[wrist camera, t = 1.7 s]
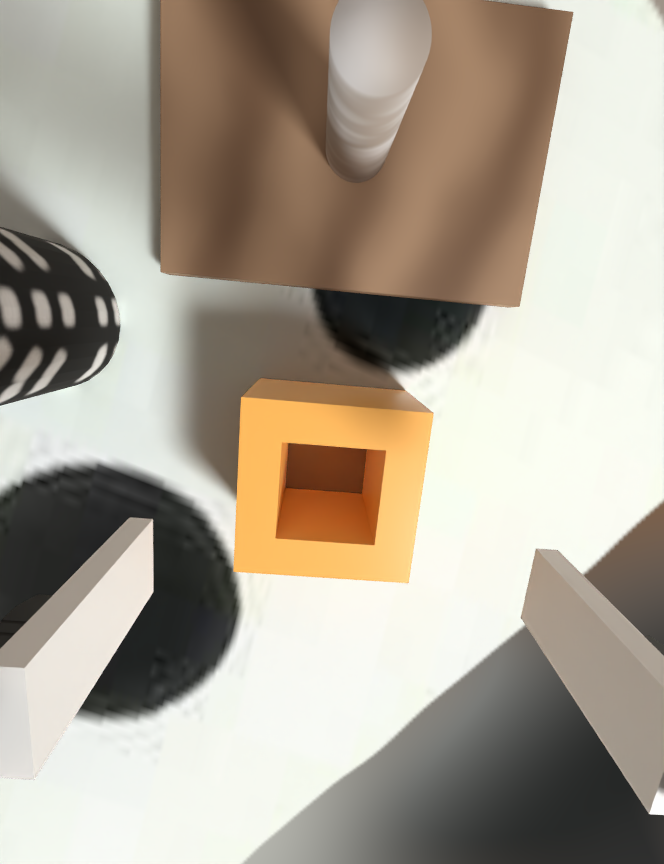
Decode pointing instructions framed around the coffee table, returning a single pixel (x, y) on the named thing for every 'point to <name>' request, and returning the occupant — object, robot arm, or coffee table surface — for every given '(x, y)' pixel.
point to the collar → (328, 510)
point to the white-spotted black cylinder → (51, 317)
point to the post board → (293, 194)
